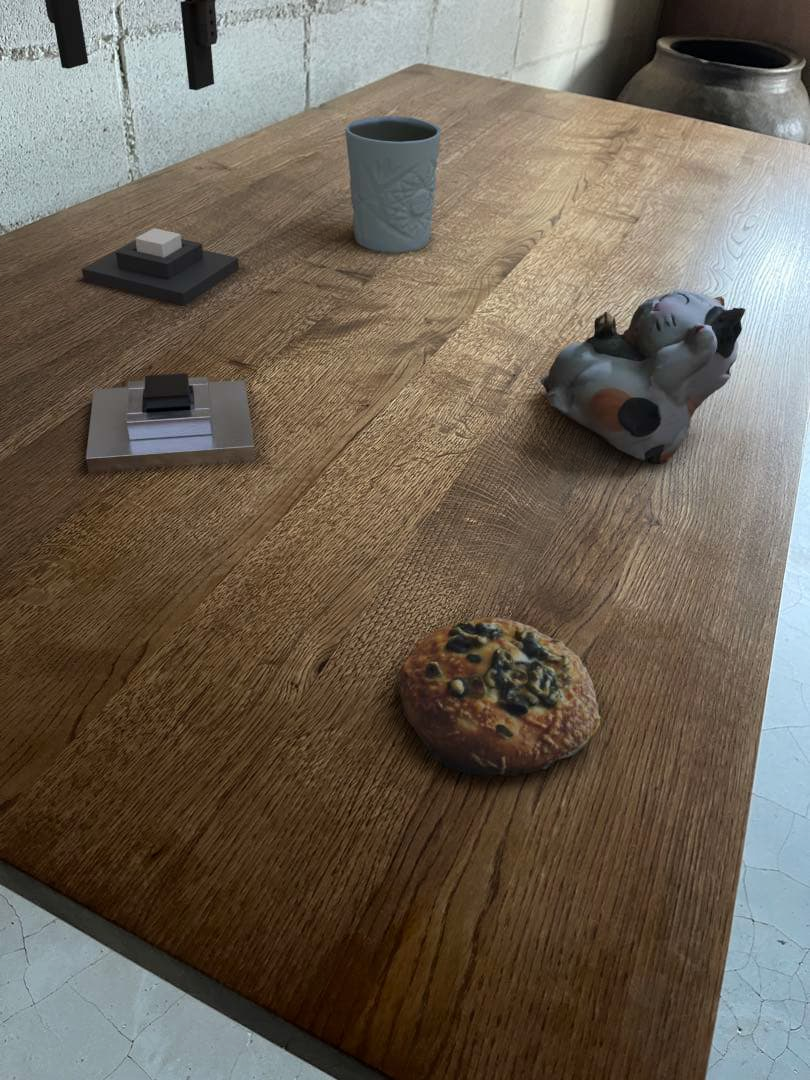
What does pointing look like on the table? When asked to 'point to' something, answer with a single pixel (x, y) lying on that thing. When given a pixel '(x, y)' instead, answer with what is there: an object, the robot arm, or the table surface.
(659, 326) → the lucky cat figurine
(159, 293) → the back keypad
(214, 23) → the robot arm
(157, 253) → the back key
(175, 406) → the front key
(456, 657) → the bread roll
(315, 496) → the table surface
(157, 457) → the grey holder base
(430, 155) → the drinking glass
